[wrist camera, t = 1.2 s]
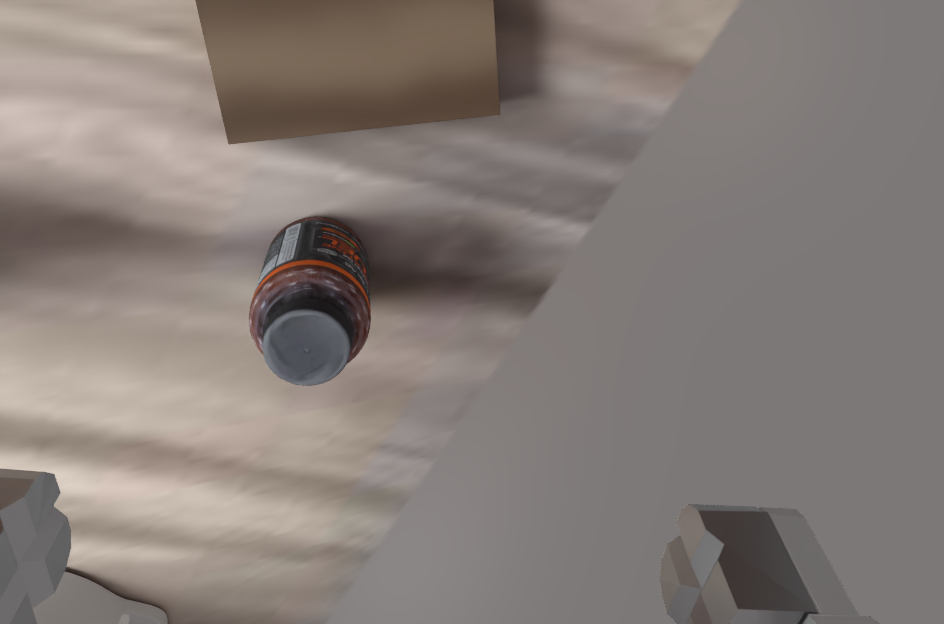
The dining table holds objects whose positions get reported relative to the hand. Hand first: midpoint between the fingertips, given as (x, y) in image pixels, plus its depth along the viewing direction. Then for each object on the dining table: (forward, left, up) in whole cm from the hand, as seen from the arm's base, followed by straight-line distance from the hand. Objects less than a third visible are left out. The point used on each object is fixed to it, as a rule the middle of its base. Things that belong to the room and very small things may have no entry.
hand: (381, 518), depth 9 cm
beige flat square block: (+6, 0, -33) cm, 34 cm away
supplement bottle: (-9, +4, -33) cm, 35 cm away
